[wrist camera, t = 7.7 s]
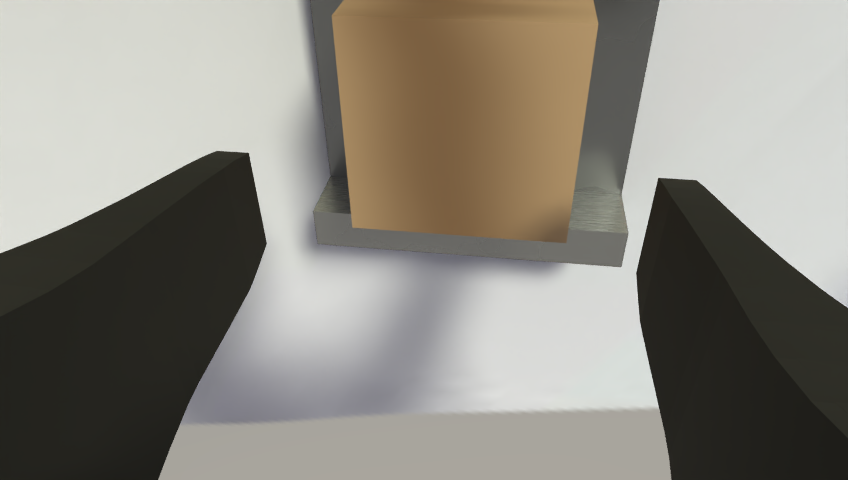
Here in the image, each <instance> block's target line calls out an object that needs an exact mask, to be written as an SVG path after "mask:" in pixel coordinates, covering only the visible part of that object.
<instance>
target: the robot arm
mask: <svg viewBox="0 0 848 480" xmlns="http://www.w3.org/2000/svg"><path fill="white" fill-rule="evenodd" d="M266 244H267V243H266V238H265V233H264V228H263V223H262V218H261V213H260V208H259V203H258V198H257V192H256V187H255V182H254V177H253V172H252V167H251V162H250V157H249V153H240V152H224V151H216V152H213V153H211V154H208V155H206V156H204V157H201V158H199V159H197V160H195V161H193V162H191V163H189V164H187V165H185V166H184V167H182V168H180V169H178V170H176V171H174V172H172V173H170V174H169V175H167V176H165V177H163V178H161V179H159V180H157V181H156V182H154V183H152V184H150V185H148V186H146V187H144V188H142V189H141V190H139V191H137V192H135V193H133V194H131V195H129V196H128V197H126V198H124V199H122V200H120V201H118V202H116V203H114V204H112V205H110V206H108V207H106V208H104V209H101V210H99V211H97V212H95V213H93V214H91V215H89V216H87V217H85V218H83V219H81V220H79V221H77V222H75V223H73V224H71V225H69V226H66V227H64V228H62V229H60V230H57V231H55V232H53V233H50V234H48V235H46V236H43V237H41V238H39V239H36V240H34V241H31V242H28V243H26V244H23V245H21V246H18V247H16V248H13V249H11V250H8V251H5V252H3V253H0V480H158V478H159V476H160V473H161V470H162V468H163V465H164V462H165V460H166V457H167V455H168V451H169V449H170V447H171V444H172V442H173V440H174V437H175V435H176V432H177V430H178V428H179V425H180V423H181V420H182V418H183V415H184V413H185V411H186V408H187V406H188V403H189V401H190V399H191V397H192V395H193V393H194V391H195V389H196V387H197V385H198V383H199V381H200V379H201V377H202V376H203V374H204V372H205V370H206V368H207V367H208V365H209V363H210V361H211V359H212V358H213V356H214V354H215V352H216V350H217V349H218V347H219V345H220V343H221V341H222V340H223V338H224V336H225V334H226V332H227V331H228V329H229V327H230V325H231V323H232V322H233V320H234V318H235V316H236V314H237V312H238V310H239V309H240V307H241V305H242V303H243V301H244V299H245V297H246V296H247V294H248V292H249V290H250V288H251V285H252V283H253V280H254V278H255V275H256V272H257V270H258V267H259V264H260V261H261V258H262V256H263V253H264V250H265V247H266ZM636 274H637V289H638V303H639V314H640V323H641V328H642V333H643V338H644V342H645V347H646V351H647V356H648V361H649V365H650V369H651V374H652V378H653V383H654V387H655V391H656V396H657V400H658V405H659V409H660V413H661V418H662V422H663V427H664V431H665V437H666V442H667V448H668V453H669V460H670V470H671V479H672V480H848V308H847V307H846V306H844V305H843V304H841V303H840V302H838V301H837V300H835V299H834V298H833V297H831V296H830V295H828V294H827V293H826V292H824V291H823V290H822V289H820V288H819V287H818V286H816V285H815V284H814V283H813V282H811V281H810V280H809V279H808V278H806V277H805V276H804V275H803V274H801V273H800V272H799V271H797V270H796V269H795V268H794V267H792V266H791V265H790V264H789V263H787V262H786V261H785V260H784V259H783V258H782V257H780V256H779V255H778V254H777V253H776V252H774V251H773V250H772V249H771V248H770V247H769V246H768V245H766V244H765V243H764V242H763V241H762V240H761V239H760V238H759V237H757V236H756V235H755V234H754V233H753V232H752V231H751V230H750V229H749V228H748V227H747V226H745V225H744V224H743V223H742V222H741V221H740V220H739V219H738V218H737V217H736V216H735V215H734V214H733V213H732V212H731V211H729V210H728V209H727V208H726V207H725V206H724V205H723V204H722V203H721V202H720V201H719V200H718V199H717V198H716V197H715V196H714V195H713V194H711V193H710V192H709V191H708V190H707V189H706V188H705V187H704V186H703V185H701V184H700V183H699V182H698V181H697V180H682V179H666V178H658V182H657V186H656V191H655V195H654V199H653V204H652V208H651V212H650V216H649V221H648V225H647V229H646V234H645V238H644V242H643V247H642V251H641V255H640V259H639V264H638V268H637V272H636Z"/></svg>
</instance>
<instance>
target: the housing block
mask: <svg viewBox="0 0 848 480" xmlns="http://www.w3.org/2000/svg"><path fill="white" fill-rule="evenodd" d="M332 24H333V34H334V44H335V54H336V65H337V75H338V85H339V95H340V105H341V116H342V126H343V136H344V146H345V157H346V167H347V177H348V187H349V198H350V208H351V218H352V228H365V229H379V230H392V231H406V232H420V233H433V234H447V235H460V236H474V237H488V238H501V239H515V240H528V241H542V242H556V243H567V236H568V229H569V222H570V215H571V209H572V202H573V195H574V188H575V181H576V174H577V167H578V161H579V154H580V147H581V140H582V133H583V126H584V119H585V112H586V106H587V99H588V92H589V85H590V78H591V71H592V64H593V58H594V51H595V44H596V37H597V30H598V20H597V15H596V10H595V6H594V1H593V0H344V1H343V2H342V3H341V4H340V6H339V7H338V8H337V9H336V11H335V12H334V13H333V14H332Z"/></svg>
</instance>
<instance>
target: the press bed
mask: <svg viewBox="0 0 848 480" xmlns="http://www.w3.org/2000/svg"><path fill="white" fill-rule="evenodd" d="M343 1H344V0H310V3H311V12H312V21H313V29H314V38H315V46H316V55H317V63H318V72H319V81H320V89H321V98H322V106H323V115H324V123H325V132H326V141H327V149H328V158H329V166H330V175H331V177H330V179H329V181H328V183H327V185H326V187H325V189H324V191H323V193H322V195H321V197H320V199H319V201H318V203H317V205H316V207H315V209H314V211H313V213H314V221H315V228H316V235H317V242H318V244H325V245H338V246H351V247H364V248H377V249H390V250H403V251H416V252H429V253H442V254H456V255H469V256H482V257H495V258H508V259H521V260H534V261H547V262H560V263H573V264H586V265H600V266H613V267H621V266H622V261H623V257H624V252H625V247H626V242H627V238H628V228H627V223H626V217H625V212H624V206H623V201H622V195H621V194H622V189H623V184H624V179H625V174H626V169H627V163H628V158H629V153H630V148H631V143H632V138H633V133H634V128H635V123H636V118H637V113H638V107H639V102H640V97H641V92H642V87H643V82H644V77H645V72H646V67H647V62H648V57H649V51H650V46H651V41H652V36H653V31H654V26H655V21H656V16H657V11H658V6H659V1H660V0H593V1H594V6H595V10H596V15H597V20H598V30H597V37H596V44H595V51H594V58H593V64H592V71H591V78H590V85H589V92H588V99H587V106H586V112H585V119H584V126H583V133H582V140H581V147H580V154H579V161H578V167H577V174H576V181H575V188H574V195H573V202H572V209H571V215H570V222H569V229H568V236H567V243H556V242H542V241H528V240H515V239H501V238H488V237H474V236H460V235H447V234H433V233H420V232H406V231H392V230H379V229H365V228H352V218H351V208H350V198H349V187H348V177H347V167H346V157H345V146H344V136H343V126H342V116H341V105H340V95H339V85H338V75H337V65H336V54H335V44H334V34H333V24H332V14H333V13H334V12H335V11H336V9H337V8H338V7H339V6H340V4H341V3H342V2H343Z"/></svg>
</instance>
